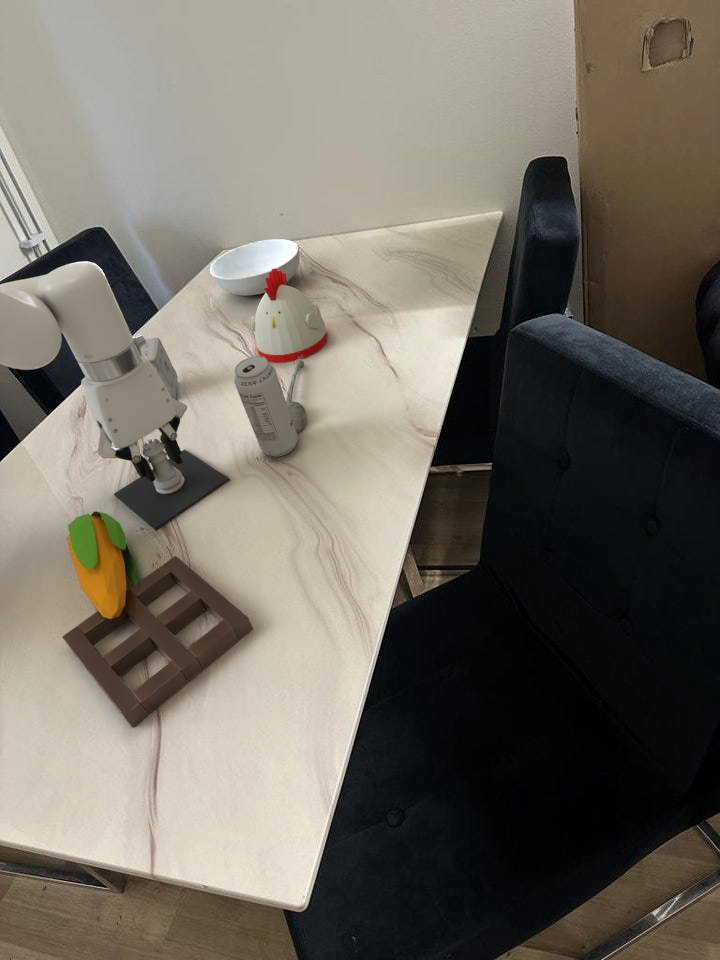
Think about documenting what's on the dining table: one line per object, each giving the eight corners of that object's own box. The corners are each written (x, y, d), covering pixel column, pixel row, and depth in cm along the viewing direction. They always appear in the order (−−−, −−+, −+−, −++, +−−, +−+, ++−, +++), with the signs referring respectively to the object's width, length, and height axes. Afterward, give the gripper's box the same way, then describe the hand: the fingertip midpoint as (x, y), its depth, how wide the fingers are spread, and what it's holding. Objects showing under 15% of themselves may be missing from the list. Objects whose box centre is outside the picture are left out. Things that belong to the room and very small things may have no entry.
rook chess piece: (156, 499, 98) (135, 457, 93) (156, 481, 101) (136, 439, 96) (186, 490, 98) (166, 448, 93) (185, 473, 101) (166, 431, 97)
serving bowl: (202, 295, 157) (192, 267, 153) (271, 261, 166) (264, 234, 162) (251, 314, 144) (242, 284, 139) (323, 275, 153) (317, 246, 148)
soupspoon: (265, 443, 106) (306, 440, 105) (260, 426, 103) (302, 423, 103) (283, 368, 122) (318, 364, 121) (279, 352, 120) (315, 348, 119)
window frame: (132, 728, 69) (123, 716, 67) (70, 647, 79) (61, 636, 78) (253, 628, 76) (247, 616, 75) (181, 566, 86) (175, 555, 85)
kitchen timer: (247, 363, 126) (222, 289, 117) (273, 328, 136) (252, 257, 127) (315, 361, 122) (295, 284, 113) (336, 325, 132) (319, 251, 122)
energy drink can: (307, 441, 102) (280, 361, 92) (278, 464, 100) (247, 384, 89) (283, 428, 106) (254, 349, 95) (254, 449, 103) (222, 371, 93)
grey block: (123, 416, 120) (98, 366, 113) (131, 392, 126) (108, 344, 120) (175, 405, 119) (153, 354, 113) (181, 381, 126) (160, 332, 119)
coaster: (156, 530, 93) (155, 528, 93) (114, 495, 101) (113, 493, 101) (230, 480, 99) (229, 477, 98) (185, 451, 107) (184, 449, 107)
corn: (101, 486, 89) (132, 575, 75) (127, 525, 94) (161, 616, 79) (48, 513, 88) (69, 609, 73) (78, 551, 93) (103, 649, 78)
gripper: (151, 326, 92) (196, 432, 104) (40, 383, 85) (101, 490, 96) (178, 338, 88) (222, 447, 99) (63, 400, 80) (125, 511, 91)
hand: (162, 468), depth 98 cm, fingers open, 4 cm apart
